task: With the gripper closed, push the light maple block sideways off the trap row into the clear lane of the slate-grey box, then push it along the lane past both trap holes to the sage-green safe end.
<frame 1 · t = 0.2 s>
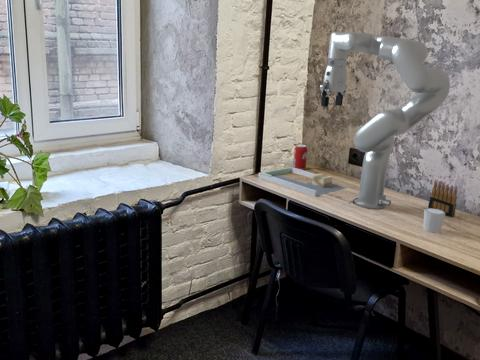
hand: (331, 105, 204), 36 cm above the table, tool pointing down, fingers open, 9 cm apart
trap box: (301, 185, 216), on the table
beverage can: (298, 169, 245), on the table
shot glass: (431, 230, 173), on the table
wooden block: (321, 184, 214), point 1 cm above the table, touching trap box
ammunition clip: (440, 213, 192), on the table
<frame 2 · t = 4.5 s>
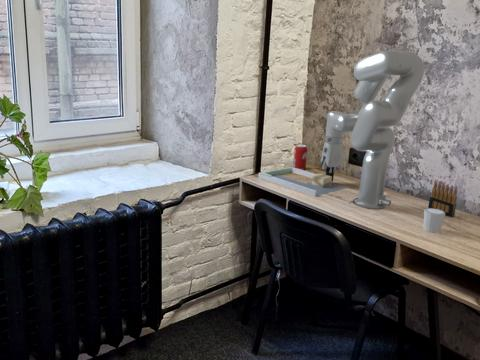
hand: (328, 180, 217), 2 cm above the table, tool pointing down, fingers closed
wooden block: (321, 184, 214), point 2 cm above the table, touching gripper, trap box
everything else where it was.
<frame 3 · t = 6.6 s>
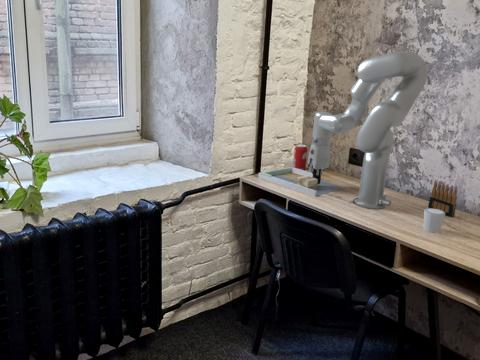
hand: (315, 183, 211), 3 cm above the table, tool pointing down, fingers closed
wooden block: (306, 187, 209), point 1 cm above the table, touching gripper, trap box
everything else where it was.
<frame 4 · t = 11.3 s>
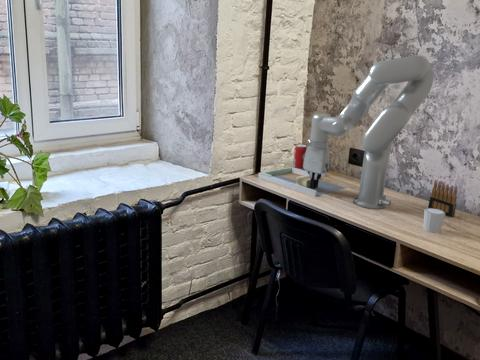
hand: (313, 187, 205), 3 cm above the table, tool pointing down, fingers closed
nothing on the table moved.
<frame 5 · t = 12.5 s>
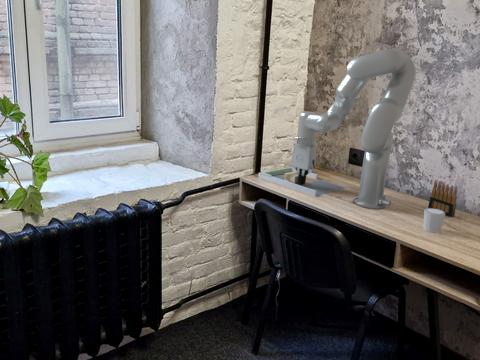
hand: (301, 183, 209), 3 cm above the table, tool pointing down, fingers closed
wooden block: (293, 182, 214), point 1 cm above the table, touching gripper, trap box
everything else where it was.
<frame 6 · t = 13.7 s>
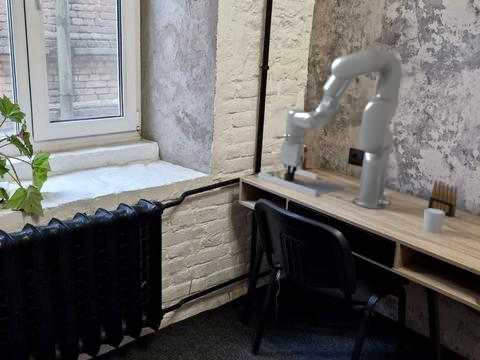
hand: (290, 180, 214), 3 cm above the table, tool pointing down, fingers closed
wooden block: (283, 179, 219), point 2 cm above the table, touching gripper
everything else where it was.
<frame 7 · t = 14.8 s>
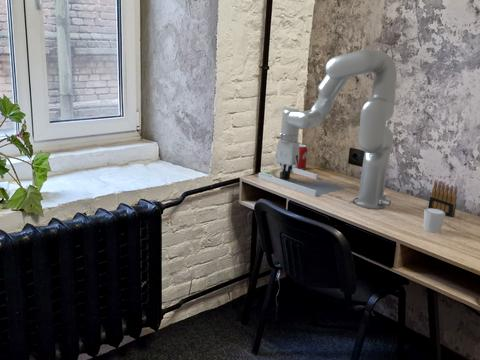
hand: (285, 179, 216), 3 cm above the table, tool pointing down, fingers closed
wooden block: (279, 177, 220), point 1 cm above the table, touching gripper, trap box
everything else where it was.
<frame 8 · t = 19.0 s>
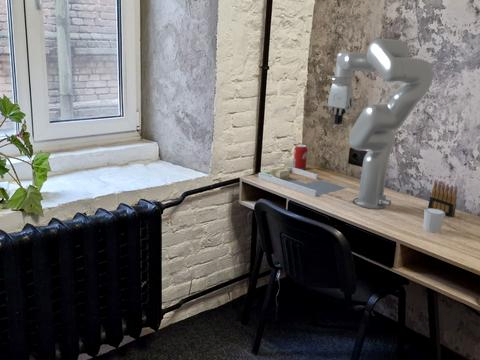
hand: (337, 123, 217), 27 cm above the table, tool pointing down, fingers closed
wooden block: (279, 177, 220), point 1 cm above the table, touching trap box
everything else where it was.
at the end: wooden block 2.2 cm from the target spot on the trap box, point 1.5 cm above the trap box's base; wooden block tilted 0° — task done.
